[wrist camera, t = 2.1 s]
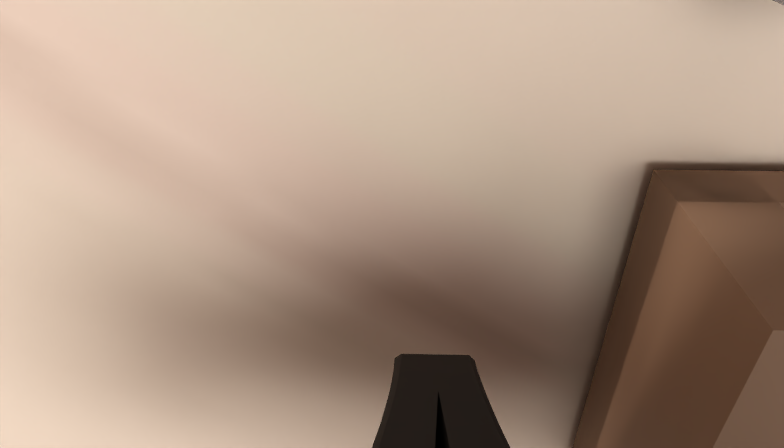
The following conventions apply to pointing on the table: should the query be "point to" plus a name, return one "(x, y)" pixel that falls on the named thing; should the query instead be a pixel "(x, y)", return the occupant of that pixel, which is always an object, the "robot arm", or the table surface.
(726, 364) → the strip
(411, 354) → the robot arm
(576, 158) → the table surface
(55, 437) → the table surface
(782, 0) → the strip
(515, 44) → the table surface
